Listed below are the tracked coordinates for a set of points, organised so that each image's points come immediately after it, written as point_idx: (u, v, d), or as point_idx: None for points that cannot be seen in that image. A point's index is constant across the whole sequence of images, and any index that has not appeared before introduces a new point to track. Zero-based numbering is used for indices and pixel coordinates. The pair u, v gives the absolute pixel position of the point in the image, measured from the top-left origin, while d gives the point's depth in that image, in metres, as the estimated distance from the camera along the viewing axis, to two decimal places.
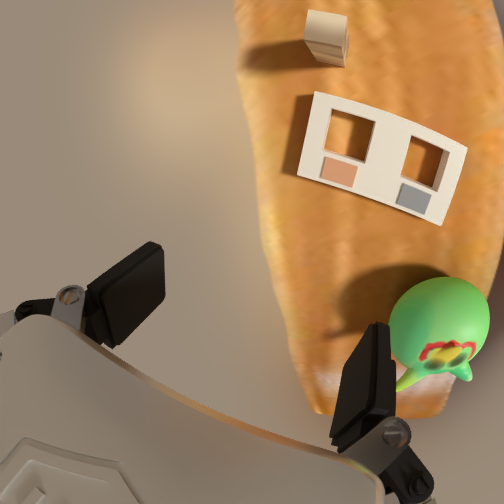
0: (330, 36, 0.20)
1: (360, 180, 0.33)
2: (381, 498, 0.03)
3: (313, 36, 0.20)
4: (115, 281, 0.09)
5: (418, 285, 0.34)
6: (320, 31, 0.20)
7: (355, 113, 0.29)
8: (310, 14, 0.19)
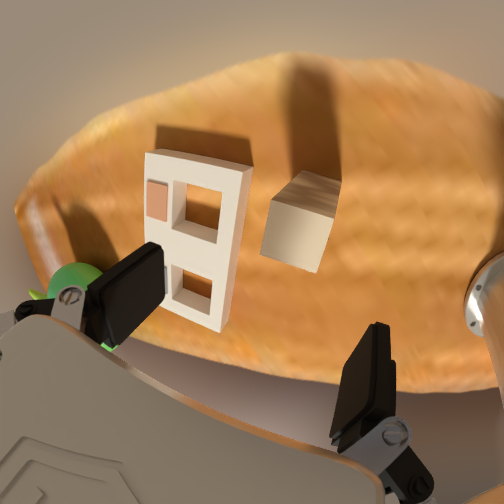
0: (276, 242, 0.18)
1: (156, 223, 0.31)
2: (381, 498, 0.03)
3: (276, 217, 0.17)
4: (115, 281, 0.09)
5: None
6: (285, 229, 0.17)
7: (220, 221, 0.28)
8: (322, 219, 0.16)
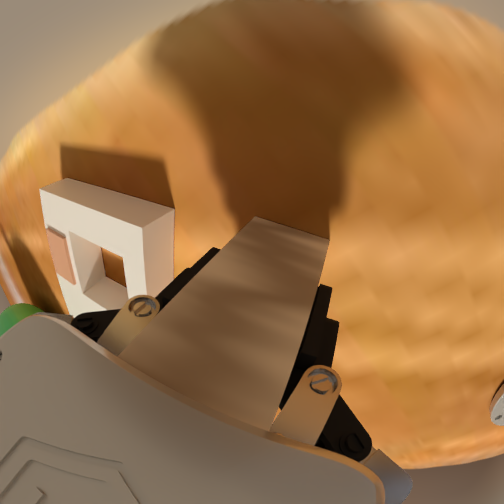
0: None
1: (67, 283, 0.20)
2: (381, 498, 0.03)
3: None
4: None
5: None
6: None
7: None
8: None
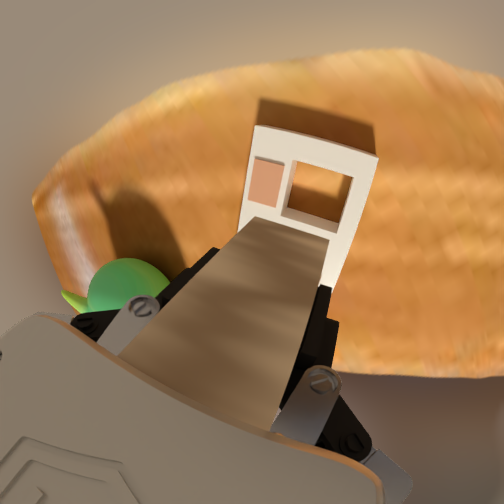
0: None
1: (258, 209, 0.28)
2: (381, 498, 0.03)
3: None
4: None
5: (162, 284, 0.36)
6: None
7: (346, 209, 0.25)
8: None
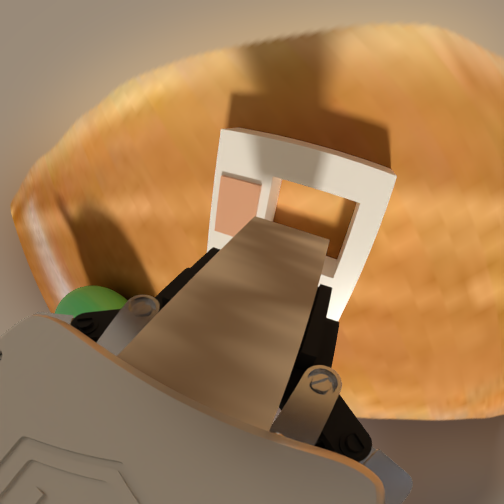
0: None
1: None
2: (381, 498, 0.03)
3: None
4: None
5: None
6: None
7: (347, 246, 0.18)
8: None
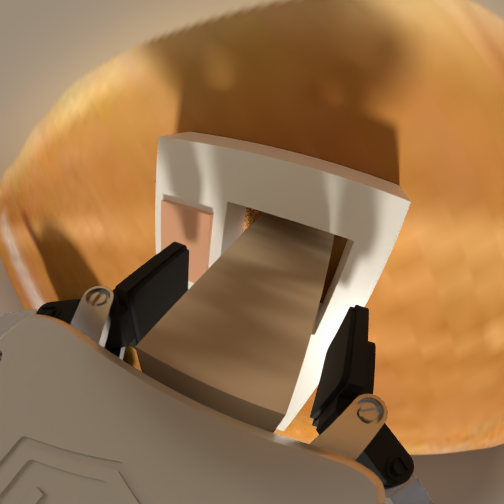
0: None
1: None
2: (381, 498, 0.03)
3: (156, 377, 0.07)
4: (144, 281, 0.09)
5: None
6: None
7: (334, 298, 0.13)
8: (255, 409, 0.06)
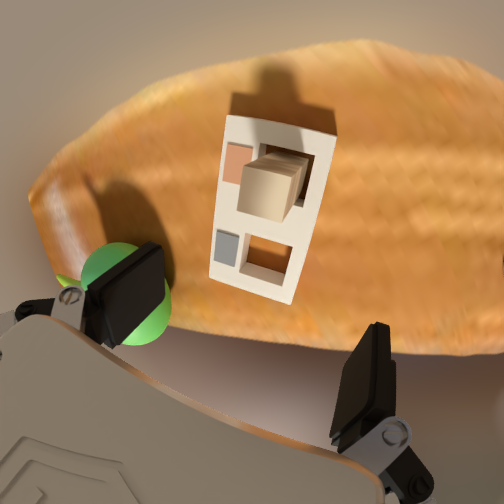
0: (248, 199, 0.22)
1: (232, 189, 0.31)
2: (381, 498, 0.03)
3: (247, 179, 0.21)
4: (115, 281, 0.09)
5: None
6: (255, 188, 0.22)
7: (310, 184, 0.28)
8: (282, 178, 0.20)
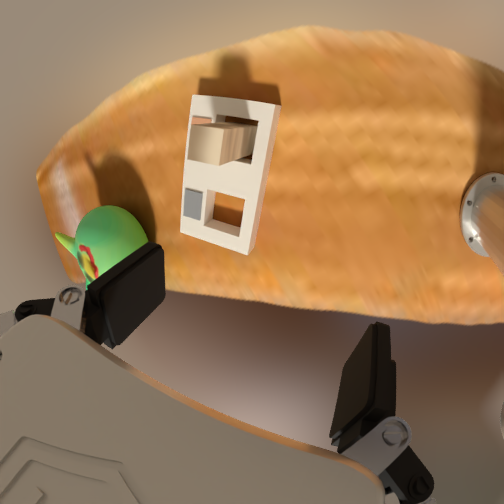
0: (195, 149, 0.27)
1: None
2: (381, 498, 0.03)
3: (194, 134, 0.27)
4: (115, 281, 0.09)
5: (132, 222, 0.44)
6: (199, 140, 0.27)
7: (255, 144, 0.33)
8: (217, 131, 0.26)
